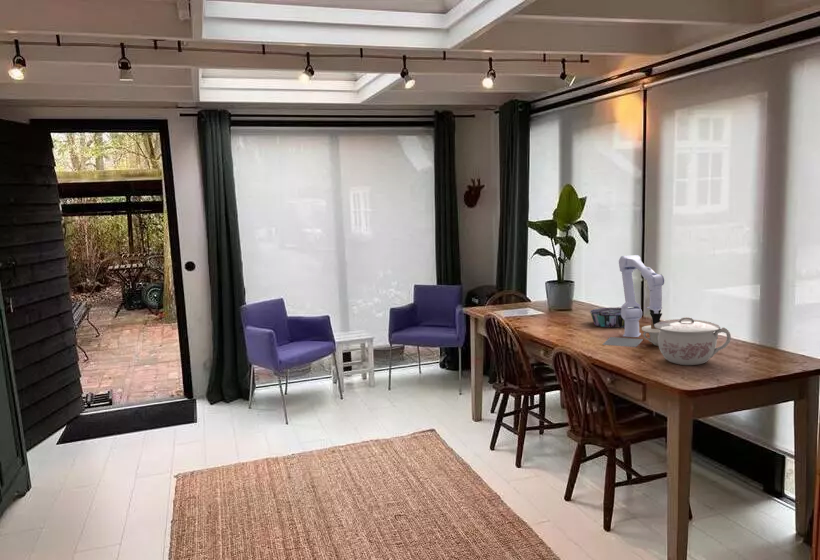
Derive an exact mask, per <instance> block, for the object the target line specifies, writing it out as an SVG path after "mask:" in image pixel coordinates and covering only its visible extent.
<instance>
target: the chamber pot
mask: <svg viewBox="0 0 820 560" xmlns="http://www.w3.org/2000/svg"><path fill="white" fill-rule="evenodd" d="M654 327H655V328H657V329H659V330H660V332H659V333H658V335H657V341H658V345H659V346H658V349H659V351H660V353H661V354H662V356H663V358H664V359H665V360H666V361H668V362H670V363H673V364H676V365H679V364H680V365H679V366H698V365H702V364H705V363H707V362H708V361H709V360H710V359H711V358H713V357H714V355H715V354H717V353H718V352H719V351H722V350H723V349H725V348H726V347H727V346H728V345H729V344H731V340H732V338H731V337H732V336H731V333H730V331H729V330H728V329H727V328H725V327H722V328H721V326H720V325H719V324H717V323H715V322H712V321H711V322H710V321H706V320H699V319H693V318H692V317H688V316H684V317H681V318H680V319H679V318H677V319H665V320H664V321H661V322H658V323H656V324H654ZM720 333H723V334H725V335H726V339H725V340H726V341H725V342H723V344H722V345H720V346H717V343H718V339H719V337H718V336H719V335H718V334H720ZM716 346H717V347H716Z"/></svg>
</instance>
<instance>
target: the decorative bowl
mask: <svg viewBox="0 0 820 560" xmlns="http://www.w3.org/2000/svg"><path fill="white" fill-rule="evenodd" d="M589 313H590V315H591V318H592V321H593V324H594V325H595V326H596V327H601V328H625V320H623V318H622V316H621V306H620V307H618V306H617V307H600V308H594V309H591V310H589Z"/></svg>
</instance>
